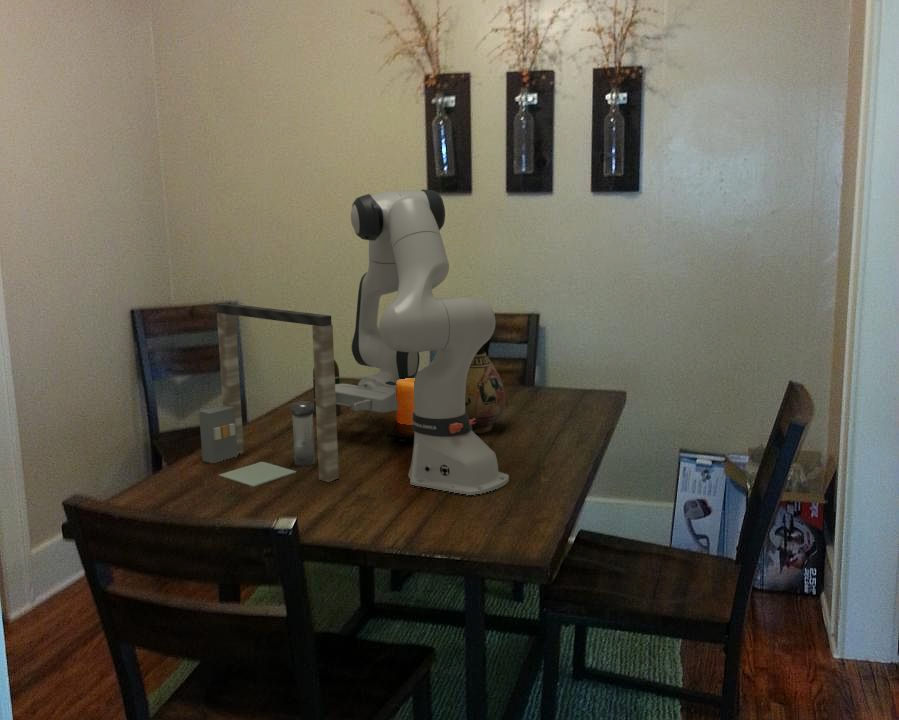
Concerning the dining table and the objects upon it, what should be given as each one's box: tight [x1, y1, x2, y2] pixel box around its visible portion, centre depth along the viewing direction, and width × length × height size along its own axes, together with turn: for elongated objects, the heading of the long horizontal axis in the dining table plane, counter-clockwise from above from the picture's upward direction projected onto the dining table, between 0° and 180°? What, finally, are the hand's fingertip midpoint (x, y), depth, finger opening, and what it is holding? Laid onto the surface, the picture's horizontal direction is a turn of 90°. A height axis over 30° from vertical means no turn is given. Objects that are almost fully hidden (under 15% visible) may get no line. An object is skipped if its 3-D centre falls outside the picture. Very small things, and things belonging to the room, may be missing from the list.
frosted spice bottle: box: [290, 400, 316, 467], centre depth 204 cm, size 5×5×14 cm
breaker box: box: [198, 404, 239, 464], centre depth 208 cm, size 5×7×12 cm
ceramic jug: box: [465, 335, 506, 434], centre depth 229 cm, size 17×15×30 cm
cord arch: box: [216, 302, 340, 483], centre depth 200 cm, size 36×3×36 cm, turn 50°
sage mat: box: [218, 461, 297, 488], centre depth 197 cm, size 12×12×1 cm
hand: (337, 404), depth 213 cm, fingers open, 8 cm apart
